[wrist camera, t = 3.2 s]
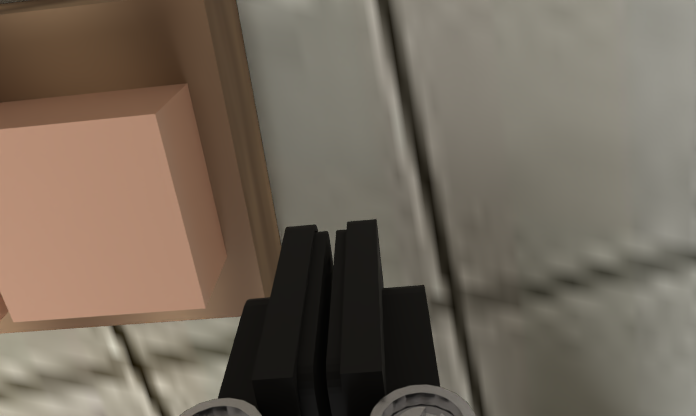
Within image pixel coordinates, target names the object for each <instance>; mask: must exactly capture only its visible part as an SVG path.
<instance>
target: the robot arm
mask: <svg viewBox="0 0 696 416" xmlns="http://www.w3.org/2000/svg"><path fill="white" fill-rule="evenodd" d="M180 416H476V415H475V413H474V412H473V410H472V409H471V407H470V406H469V404H468V403H467V402H466V401H465V400H464V399H462V398H461V397H460V396H459V395H457V394H456V393H454V392H452V391H449V390H447V389H445V388H442V387H440V382H439V376H438V370H437V363H436V357H435V350H434V344H433V337H432V331H431V324H430V318H429V312H428V305H427V299H426V292H425V287H424V285H418V286H405V287H393V288H384V286H383V276H382V266H381V257H380V247H379V237H378V228H377V220H376V219H373V220H362V221H351V222H347V230H337V231H336V241H335V254H334V266H333V259H332V252H331V245H330V239H329V234H328V231H324V232H318V229H317V226H316V225H305V226H294V227H286V229H285V234H284V238H283V242H282V247H281V251H280V256H279V260H278V264H277V269H276V273H275V278H274V282H273V286H272V291H271V295H270V297H267V298H255V299H248V300H247V301H246V303H245V305H244V308H243V312H242V315H241V319H240V322H239V326H238V329H237V333H236V336H235V340H234V343H233V347H232V350H231V354H230V357H229V361H228V364H227V368H226V371H225V375H224V379H223V382H222V386H221V389H220V393H219V396H218V399H213V400H209V401H206V402H203V403H199V404H197V405H196V406H194V407H192V408H190V409H188V410H186V411H184V412H183V413H182V414H181V415H180Z"/></svg>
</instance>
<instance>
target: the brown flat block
mask: <svg viewBox="0 0 696 416" xmlns="http://www.w3.org/2000/svg"><path fill="white" fill-rule="evenodd" d="M186 83H187V84H188V88H189V93H190V97H191V101H192V106H193V110H194V114H195V119H196V123H197V127H198V132H199V136H200V140H201V145H202V149H203V154H204V158H205V162H206V167H207V171H208V175H209V180H210V184H211V188H212V193H213V197H214V201H215V206H216V210H217V214H218V219H219V223H220V227H221V232H222V236H223V240H224V245H225V249H226V253H227V258H226V261H225V263H224V265H223V268H222V270H221V273H220V275H219V277H218V280H217V282H216V285H215V287H214V289H213V292H212V294H211V297H210V299H209V301H208V304H207V306H206V308H205V309H191V310H177V311H163V312H150V313H136V314H122V315H108V316H94V317H81V318H67V319H53V320H39V321H26V322H13V320H12V318H11V316H10V313H9V312H8V313H7V314H6V315H5V316H4V317H3V318H2V319H1V321H0V333H14V332H28V331H42V330H56V329H70V328H84V327H98V326H112V325H126V324H140V323H154V322H168V321H182V320H196V319H210V318H224V317H238V316H241V315H242V312H243V308H244V305H245V303H246V301H247V300H248V299H255V298H267V297H270V295H271V291H272V286H273V282H274V278H275V273H276V269H277V264H278V260H279V256H280V251H281V243H280V237H279V232H278V227H277V221H276V216H275V210H274V205H273V199H272V194H271V188H270V183H269V177H268V172H267V167H266V161H265V156H264V150H263V145H262V139H261V134H260V128H259V123H258V118H257V112H256V107H255V101H254V96H253V90H252V85H251V79H250V74H249V69H248V63H247V58H246V52H245V47H244V41H243V36H242V30H241V25H240V20H239V14H238V9H237V3H236V0H30V1H22V2H13V3H5V4H0V103H2V102H12V101H21V100H31V99H41V98H50V97H60V96H70V95H79V94H89V93H99V92H108V91H118V90H128V89H137V88H147V87H157V86H166V85H176V84H186Z"/></svg>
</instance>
